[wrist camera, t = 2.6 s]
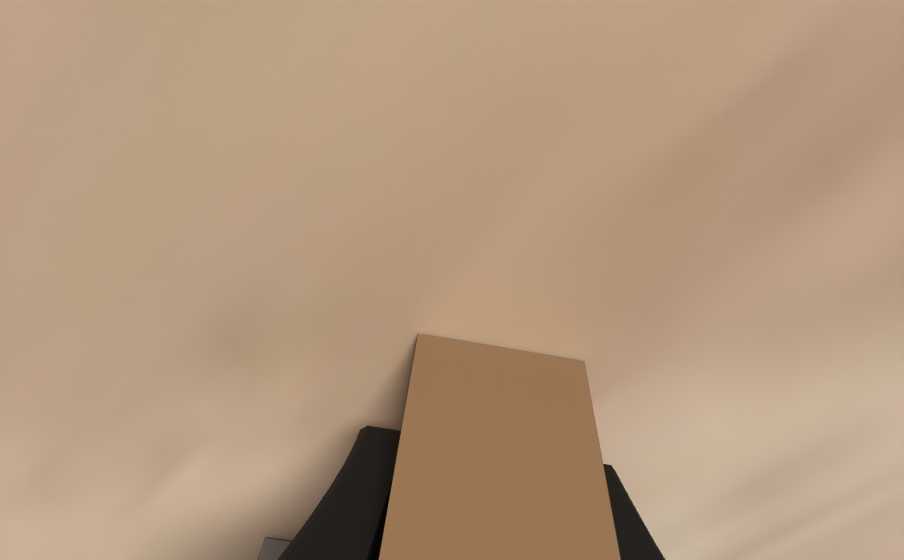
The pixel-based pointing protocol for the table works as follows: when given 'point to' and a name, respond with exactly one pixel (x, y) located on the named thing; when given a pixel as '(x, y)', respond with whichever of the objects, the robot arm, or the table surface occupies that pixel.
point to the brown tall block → (497, 460)
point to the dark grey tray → (272, 549)
